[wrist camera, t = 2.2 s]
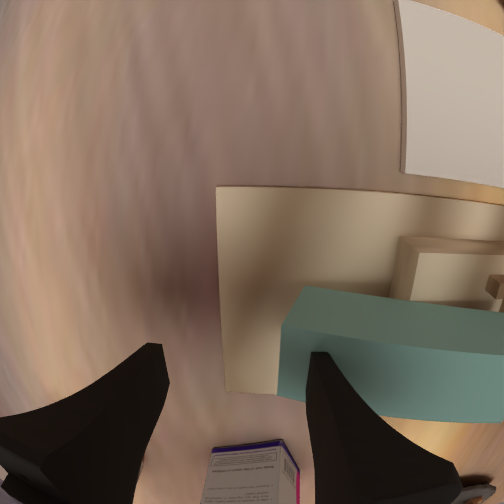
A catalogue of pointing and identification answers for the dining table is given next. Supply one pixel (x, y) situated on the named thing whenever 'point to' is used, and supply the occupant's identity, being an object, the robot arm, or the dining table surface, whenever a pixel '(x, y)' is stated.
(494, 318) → the teal bar
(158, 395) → the robot arm
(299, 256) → the board
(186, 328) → the dining table surface
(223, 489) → the supplement box
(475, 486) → the serving board
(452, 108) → the grey tile
